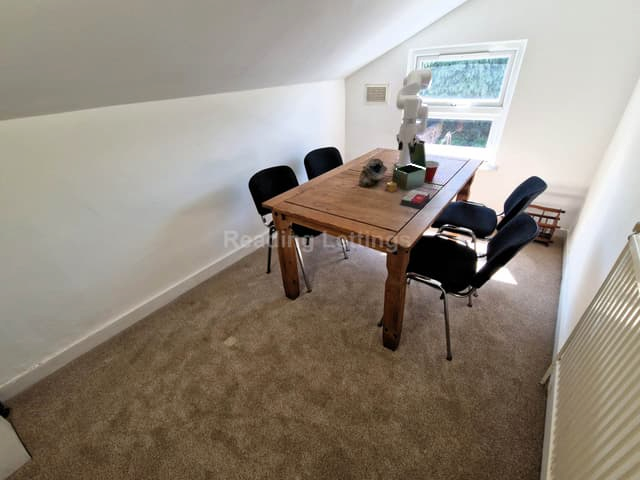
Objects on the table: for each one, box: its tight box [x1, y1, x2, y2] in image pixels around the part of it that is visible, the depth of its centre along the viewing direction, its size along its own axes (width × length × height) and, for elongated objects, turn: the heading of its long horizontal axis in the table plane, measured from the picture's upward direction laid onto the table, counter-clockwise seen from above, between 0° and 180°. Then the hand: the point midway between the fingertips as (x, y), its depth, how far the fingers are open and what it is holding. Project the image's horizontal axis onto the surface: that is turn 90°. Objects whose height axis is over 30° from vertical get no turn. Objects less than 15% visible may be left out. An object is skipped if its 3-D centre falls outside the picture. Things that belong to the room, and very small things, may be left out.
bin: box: [391, 164, 426, 191], centre depth 181 cm, size 16×13×11 cm
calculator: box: [400, 189, 431, 210], centre depth 161 cm, size 11×4×15 cm
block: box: [385, 181, 397, 193], centre depth 177 cm, size 4×4×4 cm
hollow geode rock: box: [358, 158, 388, 187], centre depth 191 cm, size 28×13×15 cm
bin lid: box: [408, 139, 427, 168], centre depth 176 cm, size 16×13×5 cm
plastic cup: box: [424, 160, 440, 183], centre depth 185 cm, size 11×11×12 cm
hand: (406, 151), depth 169 cm, fingers open, 9 cm apart
